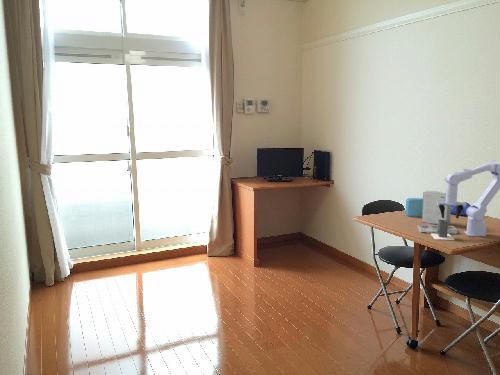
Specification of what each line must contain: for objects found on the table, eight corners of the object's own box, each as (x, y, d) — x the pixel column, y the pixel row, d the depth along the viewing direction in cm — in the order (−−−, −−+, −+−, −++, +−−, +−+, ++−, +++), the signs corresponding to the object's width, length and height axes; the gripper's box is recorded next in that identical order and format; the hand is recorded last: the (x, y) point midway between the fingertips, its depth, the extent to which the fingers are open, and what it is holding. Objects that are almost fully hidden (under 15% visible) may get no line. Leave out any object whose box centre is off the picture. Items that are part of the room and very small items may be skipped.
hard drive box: (450, 223, 260) (452, 192, 257) (446, 226, 255) (448, 194, 251) (425, 219, 271) (427, 189, 267) (421, 222, 265) (422, 191, 262)
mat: (449, 235, 237) (449, 234, 237) (454, 240, 228) (454, 239, 228) (430, 234, 239) (430, 233, 239) (435, 239, 230) (435, 238, 229)
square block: (444, 235, 235) (446, 220, 234) (446, 237, 232) (448, 221, 230) (437, 234, 236) (438, 219, 234) (439, 237, 232) (440, 221, 231)
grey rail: (452, 229, 247) (453, 225, 247) (456, 233, 239) (457, 229, 239) (417, 228, 251) (417, 224, 250) (420, 232, 243) (420, 228, 243)
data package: (422, 214, 283) (423, 197, 281) (425, 216, 279) (426, 199, 276) (405, 215, 283) (406, 198, 281) (407, 216, 279) (408, 199, 276)
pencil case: (433, 212, 290) (434, 198, 288) (439, 210, 295) (439, 197, 294) (467, 217, 274) (468, 203, 272) (471, 215, 280) (473, 201, 278)
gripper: (463, 193, 237) (461, 216, 239) (436, 193, 239) (434, 215, 242) (467, 196, 230) (465, 219, 232) (439, 195, 232) (437, 218, 235)
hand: (449, 218), depth 237 cm, fingers open, 7 cm apart
